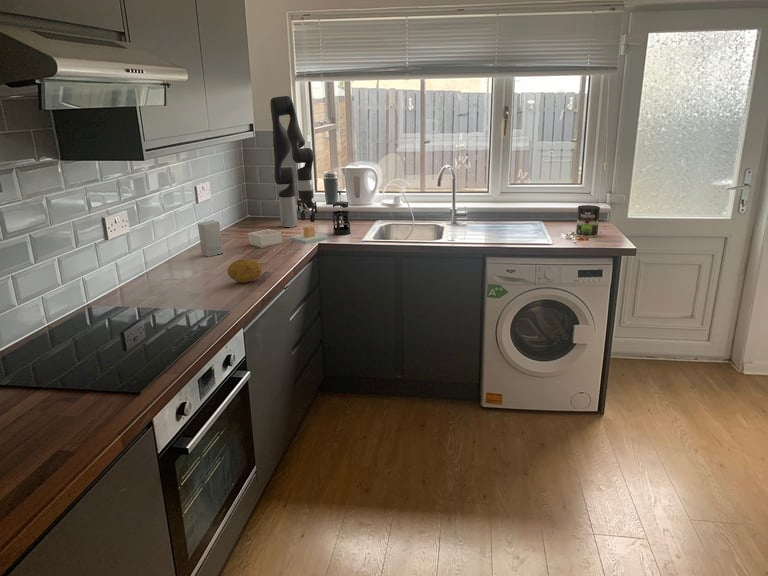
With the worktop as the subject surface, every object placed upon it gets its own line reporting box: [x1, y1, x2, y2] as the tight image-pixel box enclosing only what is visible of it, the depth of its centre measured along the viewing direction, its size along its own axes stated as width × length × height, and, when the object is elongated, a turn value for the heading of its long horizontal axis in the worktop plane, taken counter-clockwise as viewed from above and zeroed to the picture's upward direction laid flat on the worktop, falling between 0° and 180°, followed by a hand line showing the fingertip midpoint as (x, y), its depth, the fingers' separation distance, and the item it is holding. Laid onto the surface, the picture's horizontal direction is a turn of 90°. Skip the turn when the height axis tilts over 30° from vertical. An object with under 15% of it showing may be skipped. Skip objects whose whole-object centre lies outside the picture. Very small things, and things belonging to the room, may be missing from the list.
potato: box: [227, 258, 262, 284], centre depth 225 cm, size 10×13×9 cm
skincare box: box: [197, 220, 224, 258], centre depth 269 cm, size 8×7×16 cm
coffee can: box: [575, 204, 601, 238], centre depth 283 cm, size 10×10×14 cm
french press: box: [331, 190, 352, 237], centre depth 302 cm, size 12×9×23 cm
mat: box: [285, 236, 334, 245], centre depth 296 cm, size 18×18×1 cm
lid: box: [289, 225, 330, 244], centre depth 295 cm, size 14×14×6 cm
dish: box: [247, 229, 283, 249], centre depth 287 cm, size 12×12×6 cm
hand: (307, 221), depth 292 cm, fingers open, 8 cm apart
